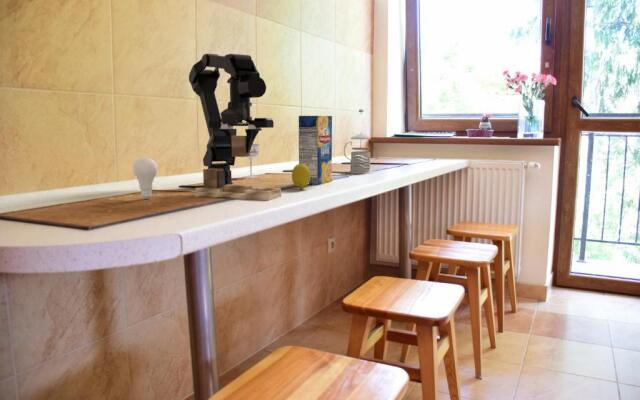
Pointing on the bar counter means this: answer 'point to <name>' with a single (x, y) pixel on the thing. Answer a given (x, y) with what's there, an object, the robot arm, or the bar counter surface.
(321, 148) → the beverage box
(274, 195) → the rail
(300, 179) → the lemon
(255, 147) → the wineglass
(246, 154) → the beige cardboard cube
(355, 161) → the french press
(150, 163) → the lightbulb
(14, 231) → the bar counter surface
